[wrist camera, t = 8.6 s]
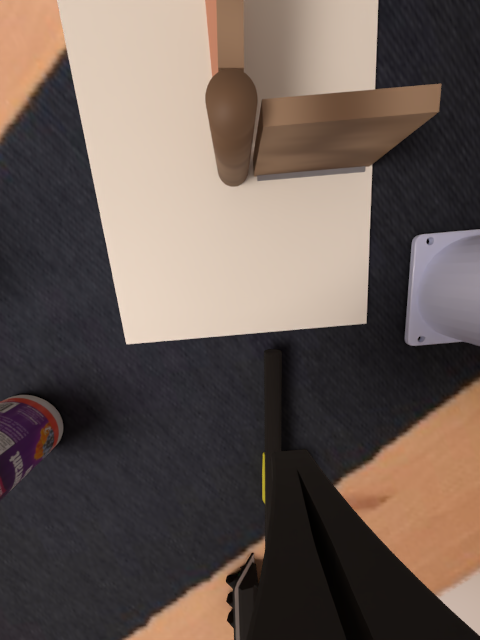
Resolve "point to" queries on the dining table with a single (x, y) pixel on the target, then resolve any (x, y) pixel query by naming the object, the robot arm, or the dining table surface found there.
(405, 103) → the frame
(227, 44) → the gate panel
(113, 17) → the card
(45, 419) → the pill bottle
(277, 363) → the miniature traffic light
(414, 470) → the dining table surface
